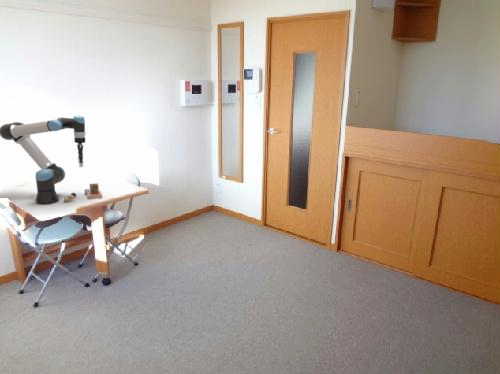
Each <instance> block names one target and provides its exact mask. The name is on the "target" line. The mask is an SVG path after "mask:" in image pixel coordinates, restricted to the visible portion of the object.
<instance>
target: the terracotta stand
mask: <svg viewBox="0 0 500 374" xmlns="http://www.w3.org/2000/svg"><path fill="white" fill-rule="evenodd" d="M87 194H88V195H87V200H94V199H95V200H97V199H96V198H98V199H103V194H102V191H101V190H99V194H92V195H91V194H90V192H87Z"/></svg>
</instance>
